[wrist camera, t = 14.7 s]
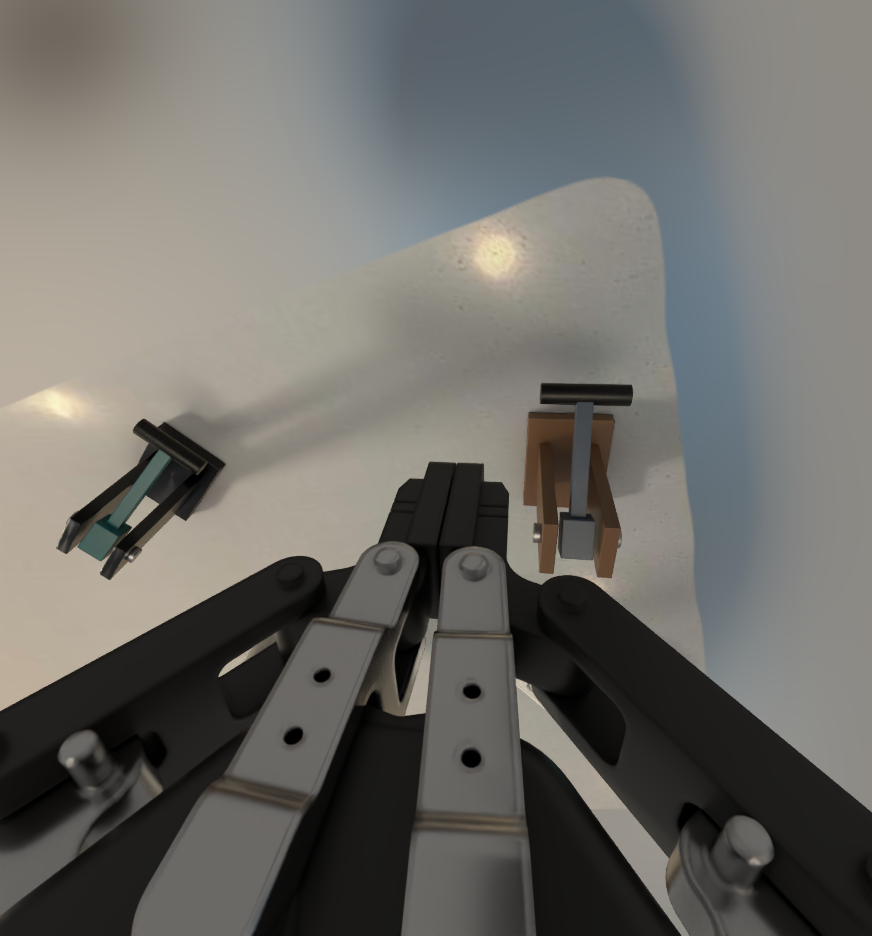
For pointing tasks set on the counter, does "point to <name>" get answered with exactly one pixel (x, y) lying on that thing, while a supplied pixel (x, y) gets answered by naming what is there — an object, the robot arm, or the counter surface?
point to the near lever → (581, 458)
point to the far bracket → (171, 491)
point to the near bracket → (553, 481)
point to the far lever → (138, 489)
